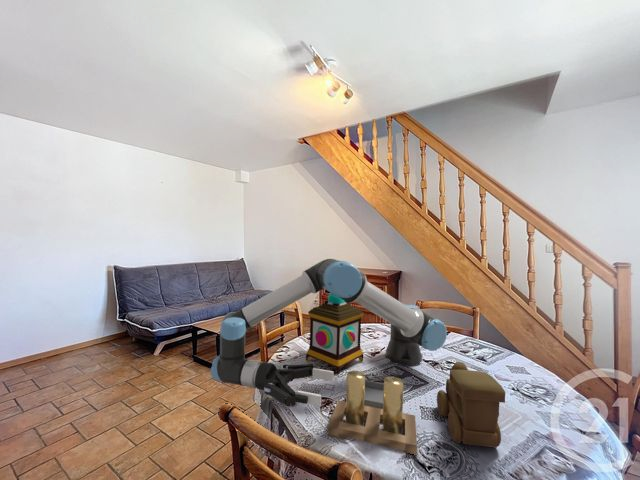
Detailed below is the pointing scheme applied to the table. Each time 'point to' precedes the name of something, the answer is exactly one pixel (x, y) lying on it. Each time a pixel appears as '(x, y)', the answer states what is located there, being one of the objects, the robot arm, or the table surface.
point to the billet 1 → (355, 398)
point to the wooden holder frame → (374, 429)
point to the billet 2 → (392, 405)
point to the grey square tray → (374, 394)
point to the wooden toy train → (472, 406)
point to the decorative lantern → (335, 333)
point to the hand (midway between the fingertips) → (327, 387)
